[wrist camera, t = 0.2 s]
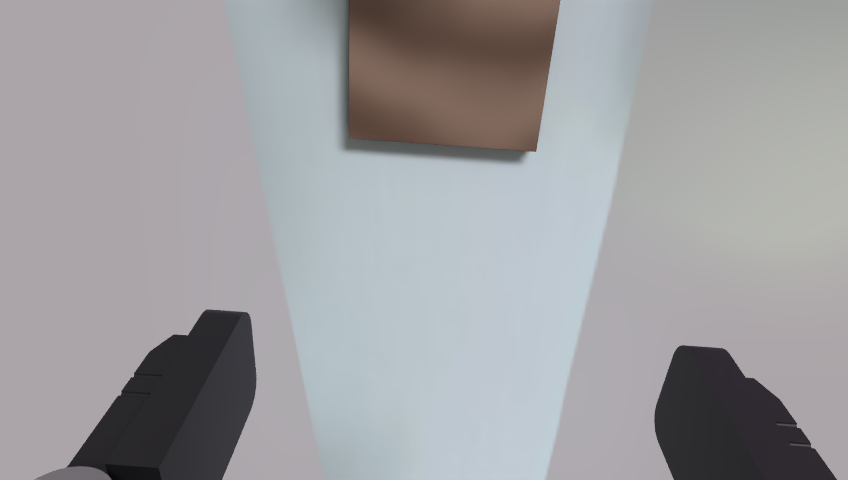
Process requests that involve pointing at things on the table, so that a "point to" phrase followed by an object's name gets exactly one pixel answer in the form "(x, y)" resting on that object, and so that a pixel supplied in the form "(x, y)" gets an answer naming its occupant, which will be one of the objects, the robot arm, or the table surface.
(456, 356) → the table surface
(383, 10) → the walnut board
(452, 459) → the table surface
